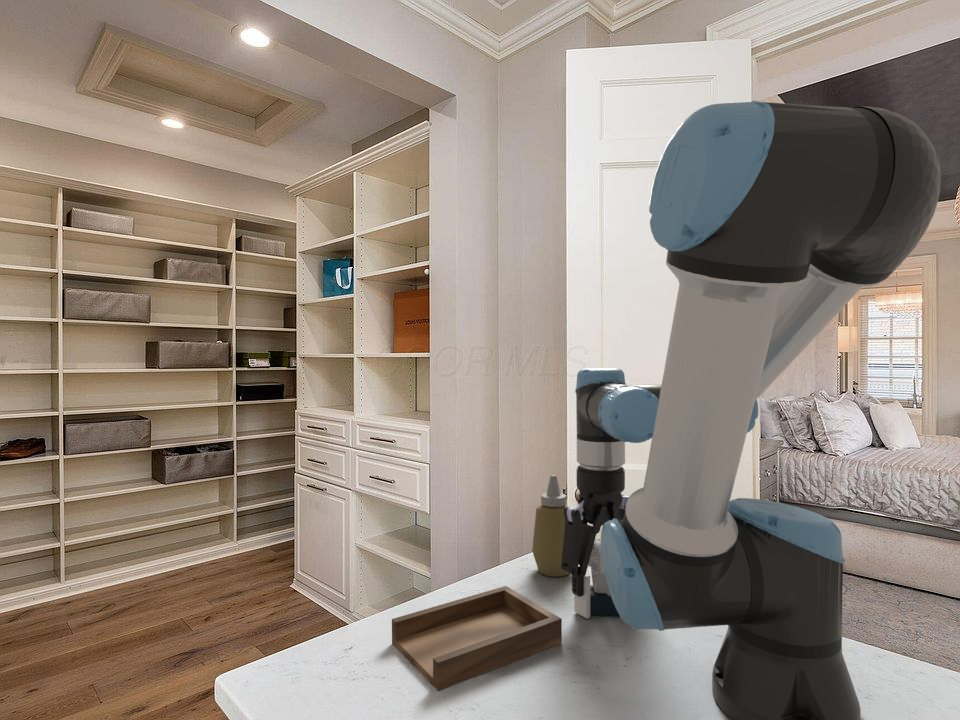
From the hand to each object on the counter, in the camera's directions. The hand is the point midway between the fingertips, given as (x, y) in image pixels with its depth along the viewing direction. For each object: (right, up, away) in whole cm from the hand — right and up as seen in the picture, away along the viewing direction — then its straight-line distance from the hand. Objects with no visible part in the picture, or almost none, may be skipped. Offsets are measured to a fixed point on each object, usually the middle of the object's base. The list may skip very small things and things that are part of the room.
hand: (600, 607), depth 90 cm
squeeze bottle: (-5, 0, +15) cm, 16 cm away
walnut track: (-20, -1, -10) cm, 22 cm away
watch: (0, 0, 0) cm, 1 cm away
